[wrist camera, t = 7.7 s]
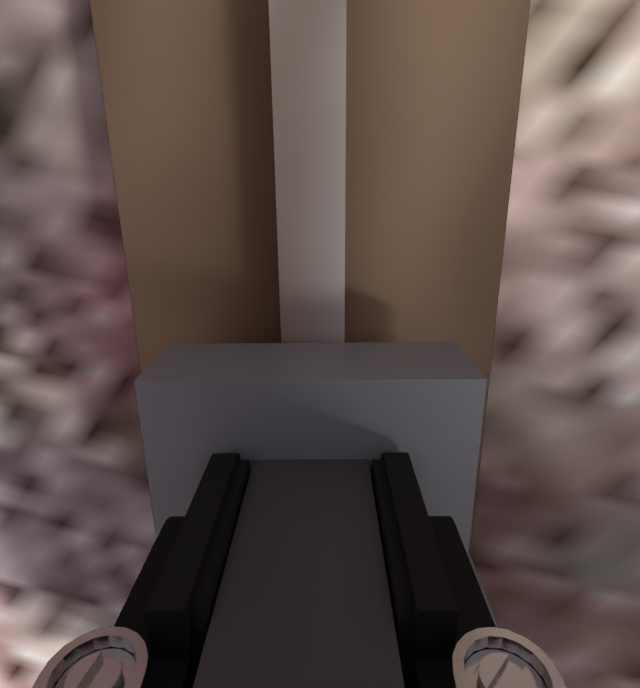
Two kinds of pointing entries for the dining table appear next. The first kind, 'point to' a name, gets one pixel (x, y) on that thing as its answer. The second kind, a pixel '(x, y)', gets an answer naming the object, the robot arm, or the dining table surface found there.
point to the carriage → (309, 491)
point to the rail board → (313, 167)
